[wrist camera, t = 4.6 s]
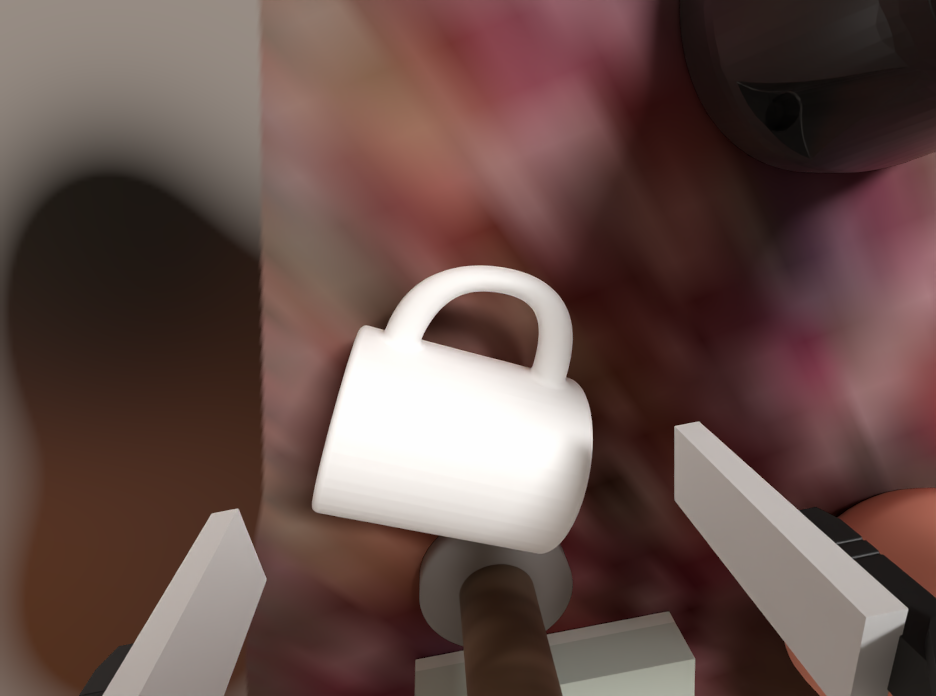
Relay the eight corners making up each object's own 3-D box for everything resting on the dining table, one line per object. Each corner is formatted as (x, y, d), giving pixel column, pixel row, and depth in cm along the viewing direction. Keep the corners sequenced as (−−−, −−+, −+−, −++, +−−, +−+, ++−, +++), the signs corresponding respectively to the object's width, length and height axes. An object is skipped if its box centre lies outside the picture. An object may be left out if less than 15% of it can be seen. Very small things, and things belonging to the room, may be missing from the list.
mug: (510, 480, 27) (542, 597, 20) (334, 443, 25) (297, 556, 18) (589, 280, 24) (665, 332, 16) (389, 219, 22) (371, 246, 14)
